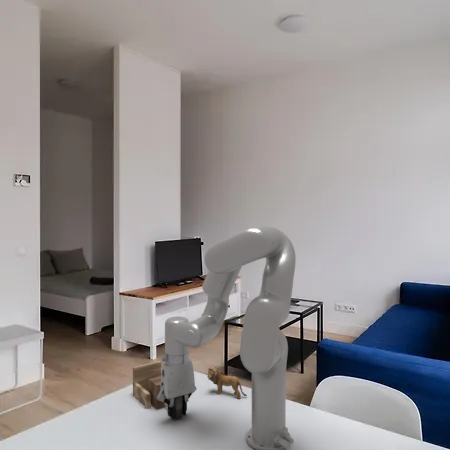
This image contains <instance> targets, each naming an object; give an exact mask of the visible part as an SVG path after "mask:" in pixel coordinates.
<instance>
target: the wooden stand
mask: <svg viewBox="0 0 450 450" xmlns="http://www.w3.org/2000/svg"><path fill="white" fill-rule="evenodd" d="M161 372H162V361H160V360H158V361H157V360H156V361H153V362H152V361H151V362H149V363H145V364H140V365H136V366H132V396H133V397H134V398H135V399H137V400H138V401H139V402H140V404H142V405H143V406H144V407H145V408H146V409H150V408H151V406H152V405H151V404H150V393H149V379H152V378H156V377H160V376H161Z"/></svg>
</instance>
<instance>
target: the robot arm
mask: <svg viewBox="0 0 450 450" xmlns="http://www.w3.org/2000/svg"><path fill="white" fill-rule="evenodd" d="M264 258H265V265H264V269H263V273H262V279H261V280H262V281H261V288H260V292H259V294H258V295H257V296H255V297H254V298H253V299H251V301H249V303H248V305H247V306H246V309H245V312H244V315H243V316H244V317H243V323H242V324H243V325H242V332H241V338H240V347H239V356H240V360H241V361H240V362H241V363H242V365H243V367H244V368H245V369H246V370H247V371H248V372H250V373H251V427H250V428H249V429H248V430H247V431H246V434H245V440H246V443H247V444H248V445H249V446H250V447H252V448H253V449H255V450H290V449H291V447H292V444H294V442H295V439H294V438H292V436H291V433H290V432H289V428H288V427H287V426H286V425H287V424H286V421H287V420H286V411H287V410H286V405H287V404H286V403H287V402H286V398H287V397H286V392H287V391H286V387H287V383H286V382H287V379H286V378H287V364H288V363H287V361H288V353H289V346H288V340H287V337H286V335H285V333H284V332H283V331H282V330H281V329H280V326H281V325H282V324H284V322H285V321H287V319H288V318H289V316H290V312H291V301H292V296H293V295H292V294H293V288H294V277H295V270H296V261H297V258H296V251H295V247H294V245H293V243H292V241H291V239H290V238H289V237H288V236H287V234H285V233H284V232H282V231H281V230H280V229H278V228H276V227H274V226H273V227H272V226H256V227H249V228H247V229H245V230H242V231H240V232H237V233H236V234H234V235H232V236H229V237H227V238H225V239H223V240H219V241H218V242H215V243H213V244H212V245H210V246H209V247H208V248H207V250H206V251H205V254H204V264H205V266H206V269H207V270H208V271H207V275H206V276H205V278H204V281H203V283H202V291H203V293H205V294H206V295H207V301H206V305H205V308H204V310H203V312H202V314H201V316H200V317H198V318H197V319H194V320H191V321H189V319H188V318H187V317H185V316H171V317H169V318H167V319H166V320H165V323H164V355H163V356H161V358H160V360H161V363H163V364H162V366H161V385H160V388H161V390H160V392H159V394H158V397H157V399H158V400H159V401H162V402H165V403H166V404H167V405H168V408H167V416H168V417H170V419H171V420H173V419H175V406H174V405H173V404H174V398H176V397H179V396H182V414H183V417H184V416H187V412H188V403H189V399H190V398H191V396H192V395H193V394H194V393H195V392H196V391H197V386H196V383H195V381H196V380H195V379H196V378H195V371H194V365H193V360H192V359H190V348H193V349H197V348H200V347H201V346H203V345H205V344H206V343H208V342H210V341H211V340H213V339H214V338H216V336H217V335H218V334H219V333H220V330H221V328H222V326H223V323H224V321H225V319H226V317H227V314H228V311H229V304H230V303H229V302H230V295H231V292H232V290H233V288H234V286H235V283H236V282H237V279H238V276H239V274H240V272H241V269H242V268H243V266H246V265H248V264H250V263H253V262H256V261H258V260H261V259H264ZM164 395H165V397H164Z"/></svg>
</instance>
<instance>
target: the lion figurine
mask: <svg viewBox="0 0 450 450" xmlns="http://www.w3.org/2000/svg"><path fill="white" fill-rule="evenodd" d="M207 379H208V381H211V382H212V383H213V384H214V385H216V387H217V391H216V395H220V394H221V393H222V391H223V386H224V387H231V388H232V389H233V391H234V392H233V394H234V395H237V396H236V399H237V400H239V399H241V398H242V396H244V397H247V396H248V395H247V394H246V393H245V392H244V391H243V389H242V385H241V381H240V380H239V378H238V377H237V376H234V375H233V376H231V375H226V374H225V373H224V372H223V371H222V370H221V369H220V368H218V367H214V366H211V367H209V368H208V371H207ZM239 388H240V389H239ZM241 394H242V396H241Z"/></svg>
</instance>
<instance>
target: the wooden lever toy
mask: <svg viewBox="0 0 450 450" xmlns="http://www.w3.org/2000/svg"><path fill="white" fill-rule="evenodd" d="M160 385H161V376H160V377H156V378H152V379H149V393H150V404H151V406H152V407H153V408H154V409H155V410H161V409H164V408H167V409H168V405H167V404H166V403H165V402H162V401H159V400H158V399H157V397H158V394H159V392H160V390H161V388H160ZM164 397H165V395H164ZM173 405H174V406H175V419H172V420H174V421H181V420H182V419H183V417H184V415H183V414H182V396H179V397H176V398H174V404H173Z"/></svg>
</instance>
